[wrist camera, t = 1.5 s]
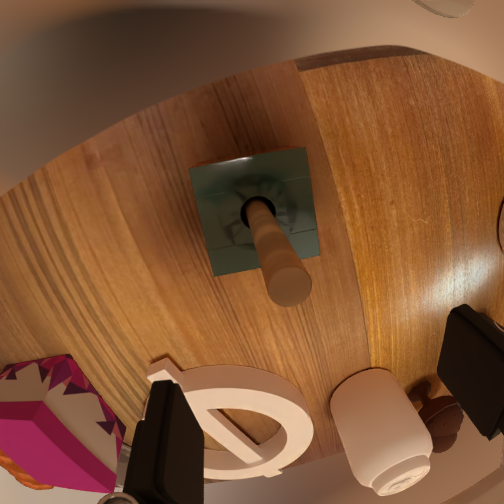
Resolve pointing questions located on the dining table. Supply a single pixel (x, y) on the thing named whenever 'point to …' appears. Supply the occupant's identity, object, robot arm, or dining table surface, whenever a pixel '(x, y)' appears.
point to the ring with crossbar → (248, 398)
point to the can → (381, 432)
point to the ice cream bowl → (438, 416)
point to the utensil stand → (243, 188)
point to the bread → (20, 473)
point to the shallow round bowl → (501, 228)
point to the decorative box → (59, 425)
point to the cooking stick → (277, 257)
